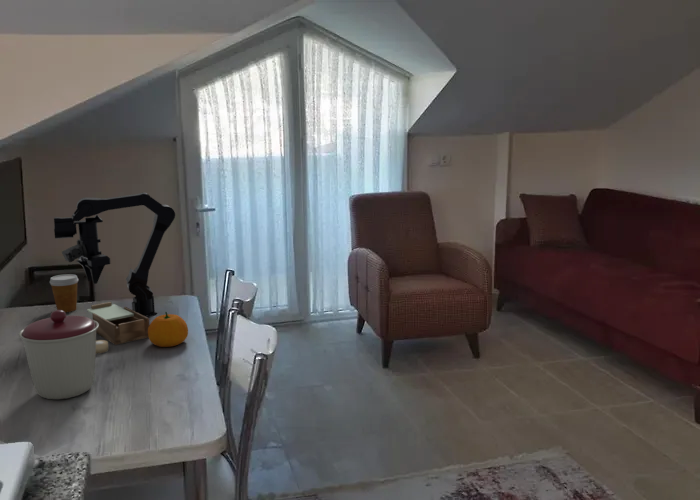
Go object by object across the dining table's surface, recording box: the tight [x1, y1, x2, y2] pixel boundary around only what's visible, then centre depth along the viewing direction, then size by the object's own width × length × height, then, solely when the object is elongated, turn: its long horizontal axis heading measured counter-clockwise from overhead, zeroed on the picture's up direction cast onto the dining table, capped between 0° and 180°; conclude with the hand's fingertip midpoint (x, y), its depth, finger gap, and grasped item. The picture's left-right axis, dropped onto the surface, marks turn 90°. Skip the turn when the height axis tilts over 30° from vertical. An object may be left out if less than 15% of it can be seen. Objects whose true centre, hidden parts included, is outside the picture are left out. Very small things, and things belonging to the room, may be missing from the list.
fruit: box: [148, 311, 189, 348], centre depth 204 cm, size 12×12×10 cm
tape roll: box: [96, 339, 109, 355], centre depth 199 cm, size 5×5×2 cm
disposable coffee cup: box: [49, 273, 80, 313], centre depth 240 cm, size 10×10×12 cm
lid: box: [86, 301, 134, 321], centre depth 219 cm, size 9×15×2 cm, turn 41°
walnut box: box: [91, 306, 150, 346], centre depth 213 cm, size 11×17×6 cm, turn 41°
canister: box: [18, 309, 99, 400], centre depth 168 cm, size 18×18×21 cm
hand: (92, 282), depth 227 cm, fingers open, 4 cm apart
